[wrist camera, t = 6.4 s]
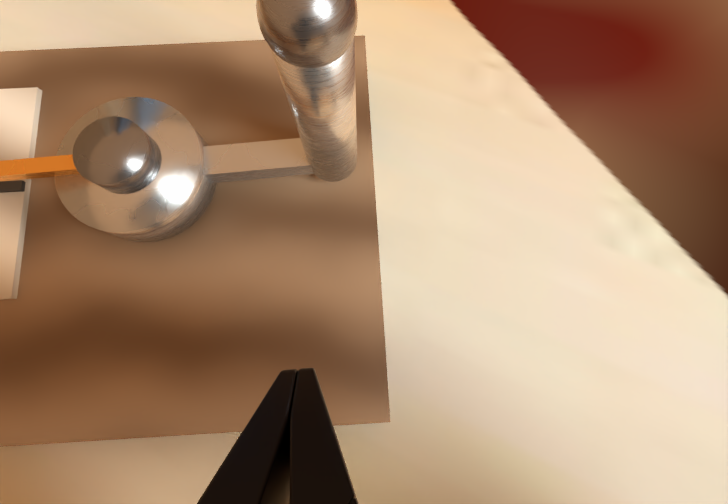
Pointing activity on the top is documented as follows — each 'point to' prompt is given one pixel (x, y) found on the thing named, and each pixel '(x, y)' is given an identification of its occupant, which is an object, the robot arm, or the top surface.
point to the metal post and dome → (190, 151)
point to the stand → (181, 262)
